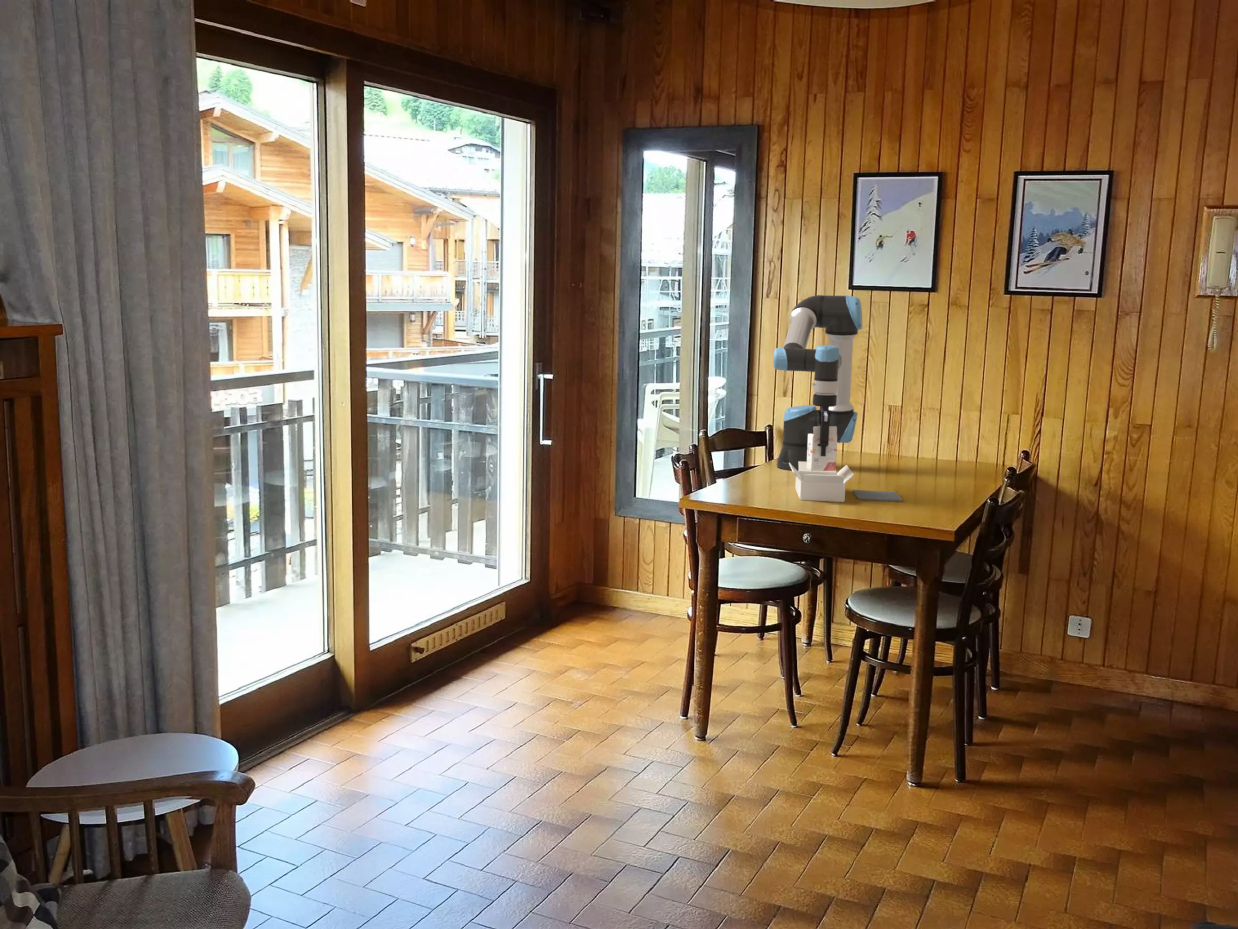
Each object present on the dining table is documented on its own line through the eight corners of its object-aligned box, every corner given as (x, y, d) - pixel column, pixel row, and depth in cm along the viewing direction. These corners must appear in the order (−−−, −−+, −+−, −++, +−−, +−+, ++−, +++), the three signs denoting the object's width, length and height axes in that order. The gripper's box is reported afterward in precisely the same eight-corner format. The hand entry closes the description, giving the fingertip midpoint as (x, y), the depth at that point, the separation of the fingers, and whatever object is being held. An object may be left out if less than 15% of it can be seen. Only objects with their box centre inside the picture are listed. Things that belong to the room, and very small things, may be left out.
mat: (852, 491, 374) (852, 490, 374) (895, 493, 373) (895, 491, 373) (858, 499, 361) (858, 498, 361) (902, 501, 360) (902, 499, 360)
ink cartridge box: (830, 468, 369) (832, 424, 366) (835, 471, 364) (838, 426, 362) (805, 468, 368) (808, 424, 365) (810, 471, 363) (813, 426, 360)
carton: (786, 486, 380) (788, 460, 379) (844, 489, 379) (845, 463, 377) (792, 501, 355) (793, 473, 354) (854, 503, 354) (855, 476, 352)
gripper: (810, 390, 371) (806, 458, 375) (816, 396, 352) (812, 468, 357) (833, 390, 370) (829, 459, 374) (840, 397, 352) (835, 469, 356)
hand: (821, 463), depth 366 cm, fingers closed on ink cartridge box, 6 cm apart
